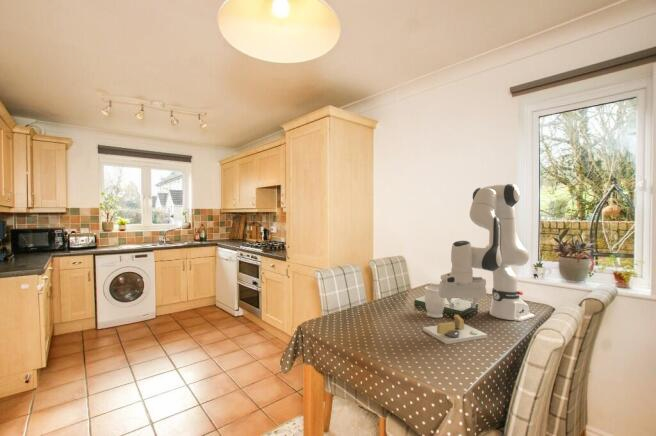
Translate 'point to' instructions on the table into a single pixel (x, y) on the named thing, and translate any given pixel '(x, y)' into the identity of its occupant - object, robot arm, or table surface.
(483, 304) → the table surface
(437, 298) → the jar
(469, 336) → the level plate
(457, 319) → the knob
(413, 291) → the table surface
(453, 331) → the knob
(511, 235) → the robot arm
